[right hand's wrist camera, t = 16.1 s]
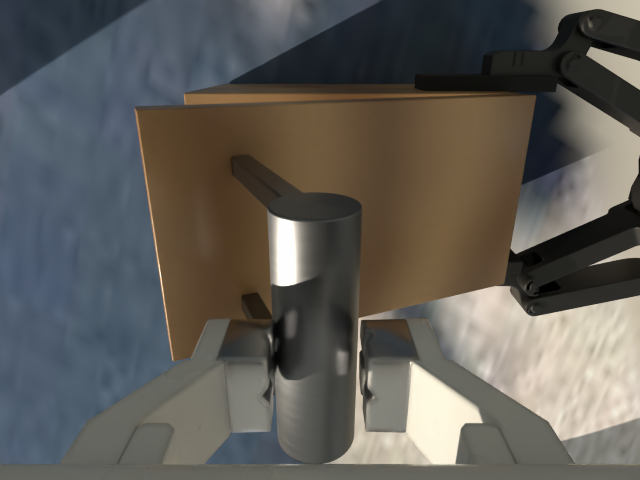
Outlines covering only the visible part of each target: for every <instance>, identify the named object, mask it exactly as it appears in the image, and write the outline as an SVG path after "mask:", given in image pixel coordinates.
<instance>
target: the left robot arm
mask: <svg viewBox="0 0 640 480" xmlns="http://www.w3.org/2000/svg"><path fill="white" fill-rule="evenodd" d="M590 47H594V48H597V49H601V50H604V51H607V52H611V53H614V54H618V55H621V56H625V57H628V58H631V59H635V60H638V61H640V21H638V20H635V19H631V18H628V17H625V16H621V15H618V14H615V13H611V12H608V11H605V10H601V9H595V10H589V11H584V12H579V13H574V14H569V15H567V16H565V17H564V18H563V19H562V20H561V21H560V23H559V26H558V35H557V37H556V39H555V41H554V42H553V44H552V45H551V46H550V47H548V48H547V49H545V50H543V51H493V52H490V53H488V54H485V55H484V57H483V64H482V72H481V74H415V87H414V88H415V89H419V90H422V91H508V92H556V86H557V83H558V84H560V85H561V86H563V87H564V88H566V89H568V90H569V91H571V92H572V93H574V94H576V95H577V96H579V97H580V98H582V99H584V100H585V101H587V102H588V103H590V104H592V105H593V106H595V107H596V108H598V109H600V110H601V111H603V112H604V113H606V114H608V115H609V116H611V117H612V118H614V119H616V120H617V121H619V122H620V123H622V124H624V125H625V126H627V127H628V128H630V131H631V132H633V133H634V134H636V135H638V136H639V137H640V90H639V89H637V88H636V87H634V86H633V85H631V84H630V83H628V82H626V81H625V80H623V79H622V78H620V77H619V76H617V75H616V74H614V73H613V72H611V71H609V70H608V69H606V68H605V67H603V66H602V65H600V64H599V63H597V62H596V61H594V60H592V59H591V58H589V57H588V56H586V54H587V52H588V50H589V48H590ZM628 199H629V200H628V201H625V202H623V203H621V204H619V205H616V206H614V207H612V208H610V209H609V211H608V214H606V215H604V216H602V217H600V218H597V219H595V220H593V221H590V222H588V223H586V224H584V225H581V226H579V227H577V228H574V229H572V230H570V231H568V232H565V233H563V234H561V235H558V236H556V237H554V238H552V239H549V240H547V241H545V242H542V243H540V244H538V245H536V246H533V247H531V248H529V249H527V250H524V251H522V252H520V253H517V254H515V253H514V252H513V251H512V250H511V249H510V252H509V258H508V264H507V270H506V276H505V281H504V284H501V285H497V286H511V288H510V292H511V294H512V295H513V297H514V298H515V299H516V300H517V302H518V303H519V304H520V305H521V307H522V308H523V309H524V310H525V312H526V313H527V314H528V315H530V316H538V315H543V314H548V313H553V312H558V311H563V310H568V309H573V308H578V307H583V306H588V305H593V304H598V303H604V302H609V301H614V300H619V299H624V298H629V297H634V296H639V295H640V258H627V259H621V260H616V261H611V262H606V263H602V264H597V265H592V264H594V263H597V262H599V261H601V260H604V259H606V258H609V257H611V256H613V255H616V254H618V253H620V252H623V251H625V250H628V249H630V248H632V247H635V246H638V245H640V157H639V174H638V176H637V178H636V180H635V181H634V183H633V185H632V187H631V190H630V194H629V198H628ZM590 265H592V266H590Z"/></svg>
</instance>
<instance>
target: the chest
mask: <svg viewBox="0 0 640 480" xmlns="http://www.w3.org/2000/svg"><path fill="white" fill-rule="evenodd" d="M414 87H415V84H222V85H218V86H214V87H209V88H205V89H200V90H196V91H192V92H187V93H184V99H185V105H197V104H226V103H255V102H284V101H313V100H342V99H371V98H400V97H429V96H458V95H487V94H519V93H514V92H508V91H422V90H419V89H415V88H414Z"/></svg>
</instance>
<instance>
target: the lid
mask: <svg viewBox="0 0 640 480" xmlns="http://www.w3.org/2000/svg"><path fill="white" fill-rule="evenodd" d="M535 102H536V95H528V94H487V95H458V96H429V97H400V98H371V99H342V100H313V101H284V102H255V103H226V104H197V105H167V106H138V107H135V108H134V109H135V116H136V122H137V129H138V136H139V142H140V149H141V156H142V163H143V169H144V176H145V183H146V189H147V196H148V203H149V209H150V216H151V223H152V230H153V236H154V243H155V250H156V256H157V263H158V270H159V277H160V283H161V290H162V297H163V303H164V310H165V317H166V323H167V330H168V337H169V344H170V349H171V354H172V360H173V361H177V360H182V359H186V358H190V357H192V355H193V352H194V350H195V348H196V345H197V343H198V341H199V339H200V336H201V334H202V332H203V330H204V327H205V325H206V323H207V321H208V320H209V319H226V318H230V319H271V320H275V323H276V342H275V351H276V352H277V386H276V410H277V432H278V440H279V443H280V445H281V447H282V449H283V450H284V451H285V452H286V453H287V454H288V455H289V456H290V457H292V458H293V459H295V460H297V461H300V462H303V463H308V464H323V463H328V462H331V461H334V460H336V459H338V458H340V457H341V456H342V455H344V454H345V453H346V452H347V451H348V449H349V448H350V446H351V444H352V442H353V439H354V423H355V396H356V369H357V342H358V318H361V317H365V316H369V315H373V314H378V313H382V312H386V311H390V310H395V309H399V308H403V307H407V306H412V305H416V304H420V303H424V302H429V301H433V300H437V299H441V298H446V297H450V296H454V295H458V294H463V293H467V292H471V291H476V290H480V289H484V288H488V287H493V286H497V285H501V284H504V281H505V276H506V270H507V264H508V258H509V252H510V247H511V241H512V235H513V229H514V223H515V218H516V212H517V206H518V200H519V194H520V189H521V183H522V177H523V171H524V165H525V160H526V154H527V148H528V142H529V136H530V131H531V125H532V119H533V113H534V107H535Z"/></svg>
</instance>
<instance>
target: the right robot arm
mask: <svg viewBox="0 0 640 480" xmlns="http://www.w3.org/2000/svg"><path fill="white" fill-rule="evenodd" d="M360 339H361V346H362V350H361V351H360V353H359V379H360V390H361V394H362V395H363V414H364V421H365V429H366V431H369V432H406V435H407V436H408V438H409V439H410V440H411V441H412V442H413V443H414V444H415V445H416V446H417V448H418V449H419V450H420V451H421V452H422V453H423V454H424V455H425V457H426V458H427V459H428V460H429V461H430V462H431V463H432V464H204V463H205V462H206V461H207V460H208V459H209V458H210V457H211V456H212V455H213V453H214V452H215V451H216V450H217V449H218V448H219V447H220V446H221V445H222V443H223V442H224V441H225V440H226V439H227V438H228V437H229V436H230V432H266V431H270V430H271V423H272V416H273V409H274V405H273V396H274V395H275V394H276V386H277V352H276V351H275V342H276V323H275V320H271V319H230V318H226V319H209V320H208V321H207V323H206V325H205V327H204V330H203V332H202V334H201V336H200V339H199V341H198V343H197V345H196V348H195V350H194V352H193V355H192V357H191V359H190V360H188V361H182V362H180V363H179V364H177V365H176V366H174V367H172V368H171V369H169V370H168V371H166V372H164V373H163V374H161V375H160V376H158V377H157V378H155V379H153V380H152V381H150V382H149V383H147V384H145V385H144V386H142V387H141V388H139V389H138V390H136V391H134V392H133V393H131V394H130V395H128V396H126V397H125V398H123V399H122V400H120V401H118V402H117V403H115V404H114V405H112V406H111V407H109V408H107V409H106V410H104V411H103V412H101V413H99V414H98V415H96V416H95V417H93V418H92V419H90V420H88V421H87V422H86V424H85V425H84V427H83V428H82V430H81V431H80V433H79V435H78V436H77V438H76V439H75V441H74V442H73V444H72V445H71V447H70V448H69V450H68V451H67V453H66V454H65V456H64V458H63V459H62V461H61V462H60V464H0V480H640V464H575V463H574V462H573V460H572V459H571V457H570V455H569V454H568V452H567V451H566V449H565V448H564V446H563V444H562V443H561V441H560V440H559V438H558V436H557V435H556V433H555V432H554V430H553V429H552V427H551V425H550V424H549V422H548V421H546V420H545V419H543V418H541V417H540V416H538V415H537V414H535V413H534V412H532V411H530V410H529V409H527V408H526V407H524V406H523V405H521V404H519V403H518V402H516V401H515V400H513V399H512V398H510V397H509V396H507V395H505V394H504V393H502V392H501V391H499V390H498V389H496V388H494V387H493V386H491V385H490V384H488V383H487V382H485V381H484V380H482V379H480V378H479V377H477V376H476V375H474V374H473V373H471V372H469V371H468V370H466V369H465V368H463V367H462V366H460V365H459V364H457V363H455V362H454V361H448V360H445V357H444V355H443V353H442V350H441V348H440V346H439V343H438V341H437V339H436V336H435V334H434V332H433V329H432V327H431V325H430V322H429V320H428V319H426V318H420V319H388V320H361V329H360Z"/></svg>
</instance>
